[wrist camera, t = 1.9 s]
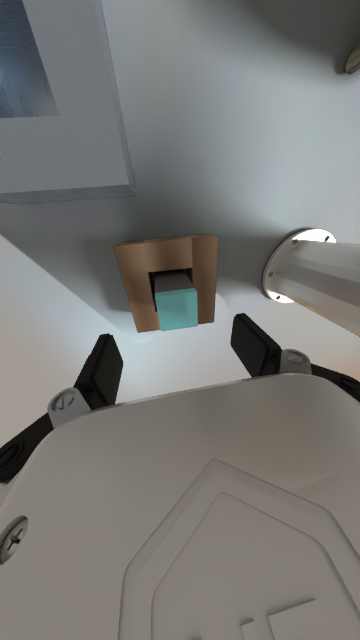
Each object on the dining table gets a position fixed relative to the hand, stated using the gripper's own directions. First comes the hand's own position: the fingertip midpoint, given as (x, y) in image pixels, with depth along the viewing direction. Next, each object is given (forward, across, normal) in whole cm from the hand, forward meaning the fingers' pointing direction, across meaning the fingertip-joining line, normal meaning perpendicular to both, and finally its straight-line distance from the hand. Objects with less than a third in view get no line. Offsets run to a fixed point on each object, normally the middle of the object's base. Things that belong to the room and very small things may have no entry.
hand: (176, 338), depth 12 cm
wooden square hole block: (+16, -1, 0) cm, 16 cm away
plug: (+15, -1, 0) cm, 15 cm away
